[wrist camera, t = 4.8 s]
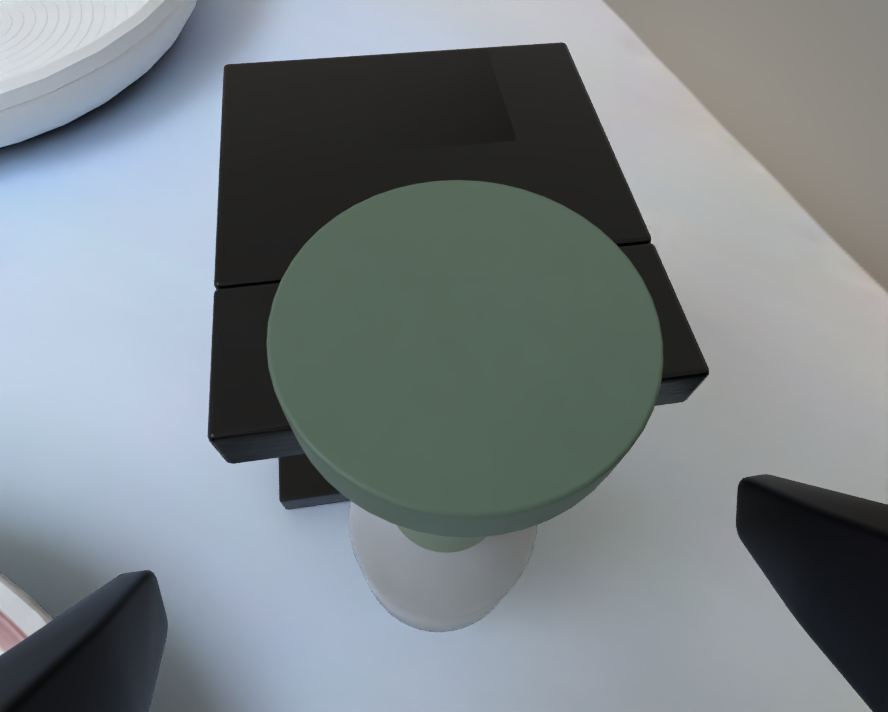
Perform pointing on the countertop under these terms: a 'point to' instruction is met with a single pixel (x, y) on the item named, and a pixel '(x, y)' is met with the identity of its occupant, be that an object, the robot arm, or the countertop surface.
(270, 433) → the black bracket
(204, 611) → the countertop surface
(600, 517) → the countertop surface
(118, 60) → the white round dish
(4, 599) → the dinner plate
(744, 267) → the countertop surface
